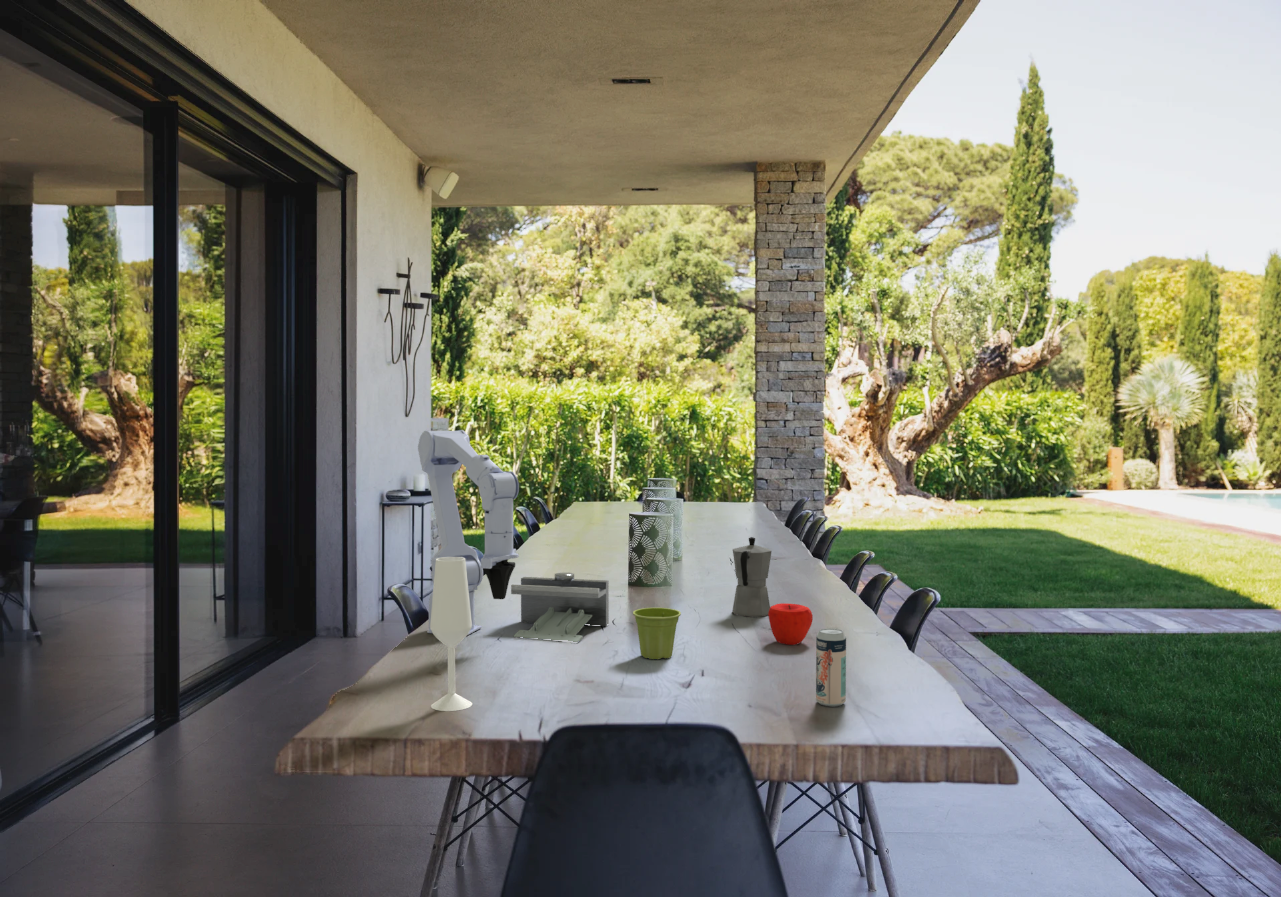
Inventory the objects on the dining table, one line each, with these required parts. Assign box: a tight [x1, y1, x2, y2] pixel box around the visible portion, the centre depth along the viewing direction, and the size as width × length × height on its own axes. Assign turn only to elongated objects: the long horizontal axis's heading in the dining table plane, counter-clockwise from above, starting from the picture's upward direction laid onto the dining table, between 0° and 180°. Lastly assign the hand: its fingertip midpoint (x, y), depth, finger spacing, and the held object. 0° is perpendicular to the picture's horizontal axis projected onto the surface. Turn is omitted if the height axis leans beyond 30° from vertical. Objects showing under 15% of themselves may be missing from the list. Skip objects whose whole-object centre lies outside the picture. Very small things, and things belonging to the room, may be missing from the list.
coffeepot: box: [732, 536, 772, 618], centre depth 239 cm, size 15×9×18 cm, turn 160°
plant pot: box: [632, 607, 682, 660], centre depth 199 cm, size 9×9×9 cm
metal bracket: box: [513, 607, 592, 643], centre depth 218 cm, size 14×6×15 cm
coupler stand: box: [510, 572, 610, 627], centre depth 226 cm, size 20×9×11 cm, turn 76°
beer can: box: [815, 628, 847, 708], centre depth 167 cm, size 5×5×12 cm
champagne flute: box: [430, 557, 473, 712], centre depth 166 cm, size 7×7×24 cm
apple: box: [767, 602, 814, 646], centre depth 210 cm, size 9×9×8 cm
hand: (499, 598), depth 207 cm, fingers closed
